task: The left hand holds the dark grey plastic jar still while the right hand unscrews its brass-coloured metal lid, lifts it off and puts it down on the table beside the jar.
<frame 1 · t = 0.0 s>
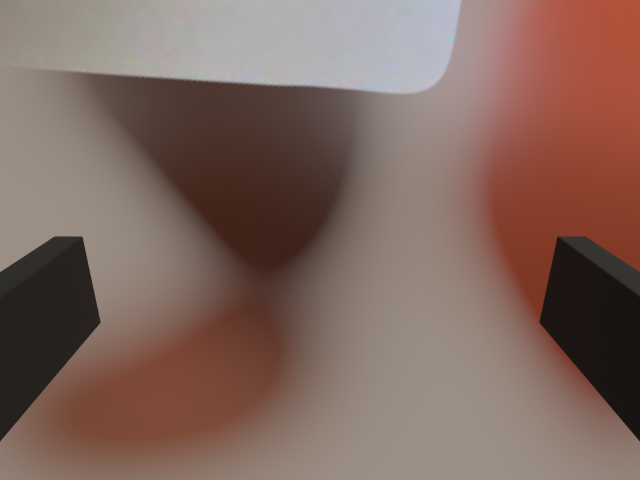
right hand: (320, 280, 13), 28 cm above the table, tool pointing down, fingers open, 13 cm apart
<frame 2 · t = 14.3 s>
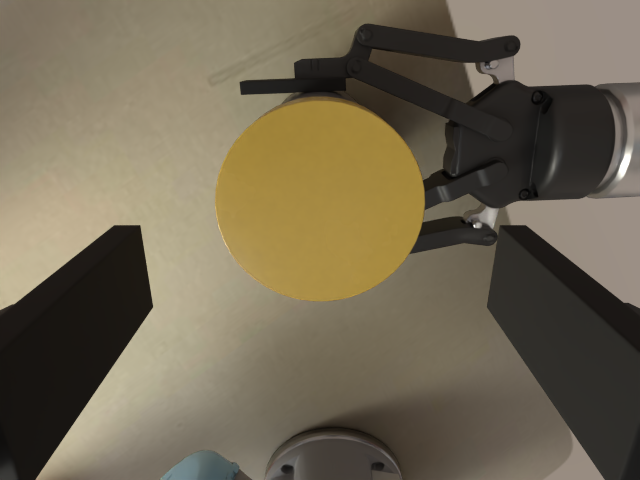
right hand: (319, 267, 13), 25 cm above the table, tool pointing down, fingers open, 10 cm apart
left hand: (250, 155, 30), fingers closed on jar, 8 cm apart
jar: (320, 138, 36), on the table, touching left hand
lid: (320, 207, 19), point 19 cm above the table, screwed on, not yet turned
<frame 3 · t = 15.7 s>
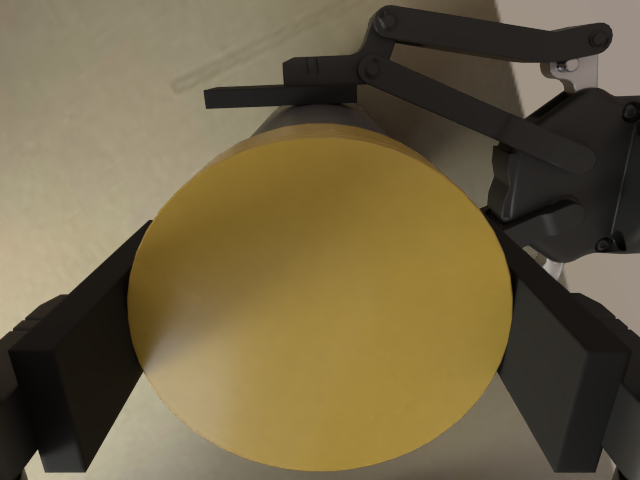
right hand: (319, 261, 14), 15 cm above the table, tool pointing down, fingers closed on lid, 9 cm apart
jar: (319, 160, 28), on the table, touching left hand
lid: (320, 322, 11), point 19 cm above the table, screwed on, not yet turned, touching right hand
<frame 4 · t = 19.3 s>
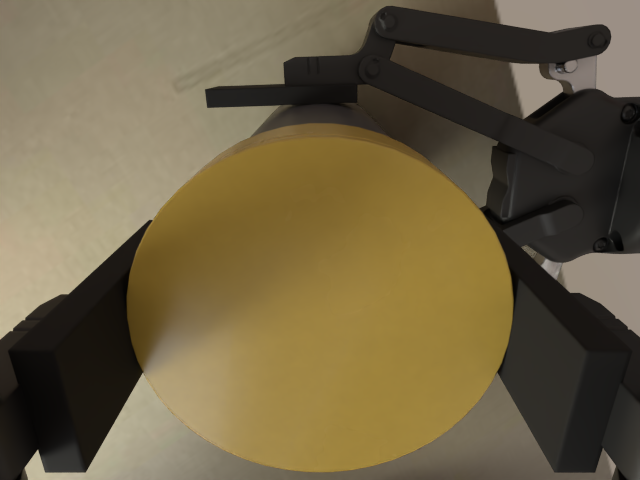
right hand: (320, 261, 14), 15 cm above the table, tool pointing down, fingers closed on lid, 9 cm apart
left hand: (224, 190, 22), fingers closed on jar, 8 cm apart
jar: (319, 160, 28), on the table, touching left hand
lid: (320, 323, 11), point 19 cm above the table, turned 112° so far, risen 0.2 cm, still on its thread, touching right hand
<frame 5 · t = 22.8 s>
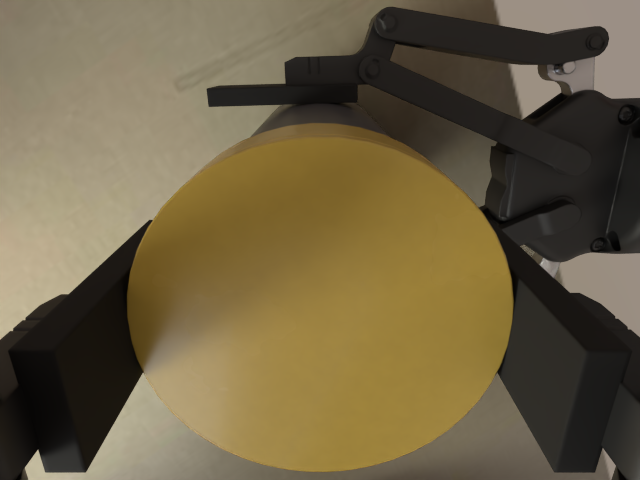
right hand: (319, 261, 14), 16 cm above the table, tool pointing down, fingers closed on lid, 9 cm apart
jar: (320, 159, 28), on the table, touching left hand
lid: (320, 323, 11), point 19 cm above the table, turned 225° so far, risen 0.4 cm, still on its thread, touching right hand
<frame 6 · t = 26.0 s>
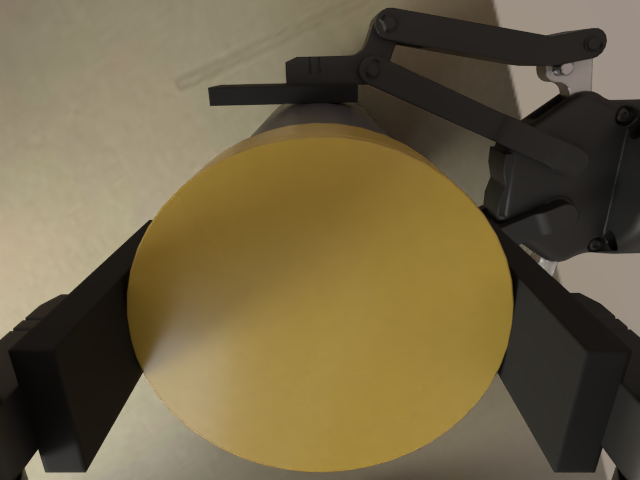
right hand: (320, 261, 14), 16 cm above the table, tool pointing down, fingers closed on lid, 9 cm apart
left hand: (225, 187, 22), fingers closed on jar, 8 cm apart
jar: (320, 159, 28), on the table, touching left hand
lid: (320, 323, 11), point 19 cm above the table, turned 337° so far, risen 0.5 cm, still on its thread, touching right hand
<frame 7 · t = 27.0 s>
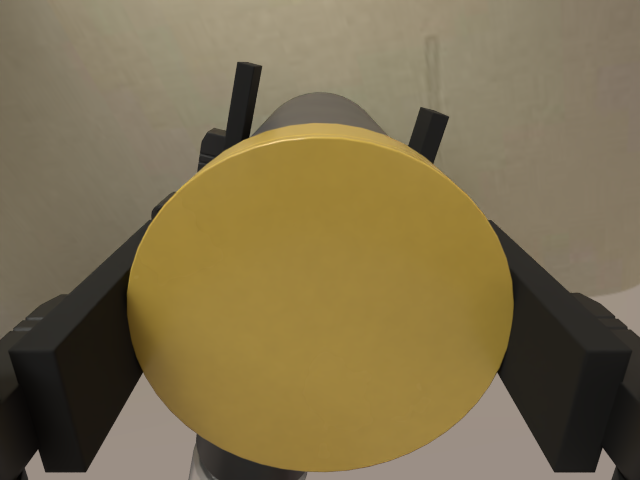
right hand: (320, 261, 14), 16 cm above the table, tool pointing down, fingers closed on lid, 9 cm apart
jar: (319, 158, 29), on the table, touching left hand
lid: (320, 323, 11), point 19 cm above the table, off its thread, touching right hand
when the right hand's fingers open (0 cm above the table, at t = 33.0 s): lid drops 2 cm, point 2 cm above the table.
when the left hand's fingers open (7 cm above the table, at t = 34.0 s): jar stays where it is, on the table.
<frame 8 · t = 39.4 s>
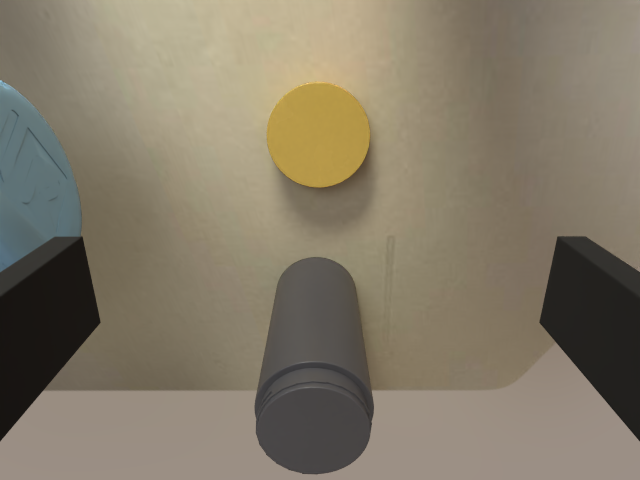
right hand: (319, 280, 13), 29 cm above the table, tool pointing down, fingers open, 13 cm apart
jar: (316, 293, 46), on the table
lid: (318, 136, 38), point 2 cm above the table, off its thread
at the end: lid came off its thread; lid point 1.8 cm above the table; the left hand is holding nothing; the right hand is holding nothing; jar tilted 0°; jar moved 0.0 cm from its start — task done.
